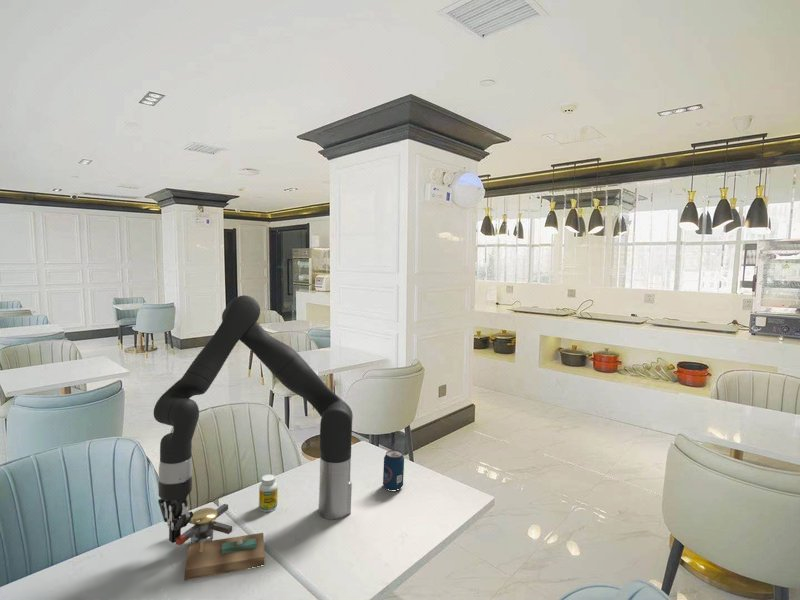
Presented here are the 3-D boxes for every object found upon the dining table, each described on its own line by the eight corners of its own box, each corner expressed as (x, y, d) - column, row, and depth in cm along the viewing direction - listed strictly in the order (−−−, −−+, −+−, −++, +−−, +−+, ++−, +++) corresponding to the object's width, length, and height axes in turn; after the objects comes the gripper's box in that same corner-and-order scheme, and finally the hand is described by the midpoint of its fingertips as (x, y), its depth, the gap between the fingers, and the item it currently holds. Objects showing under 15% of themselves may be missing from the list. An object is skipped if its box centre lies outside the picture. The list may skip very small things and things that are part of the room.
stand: (263, 541, 118) (263, 524, 118) (264, 566, 109) (264, 548, 108) (189, 553, 112) (189, 535, 112) (184, 580, 103) (184, 561, 102)
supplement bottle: (274, 501, 138) (274, 471, 137) (279, 509, 133) (280, 479, 133) (256, 505, 135) (257, 475, 134) (261, 514, 130) (262, 483, 130)
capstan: (202, 515, 128) (202, 492, 127) (250, 529, 123) (251, 505, 122) (151, 551, 112) (151, 525, 111) (205, 568, 106) (205, 541, 106)
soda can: (378, 485, 150) (380, 451, 149) (395, 480, 154) (396, 447, 154) (390, 494, 145) (391, 459, 144) (407, 489, 149) (408, 454, 148)
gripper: (147, 472, 110) (146, 537, 112) (174, 490, 103) (173, 559, 104) (176, 462, 117) (176, 524, 118) (204, 478, 109) (203, 544, 110)
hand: (174, 540), depth 111 cm, fingers closed
